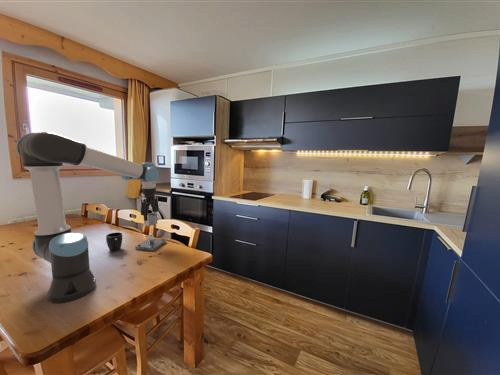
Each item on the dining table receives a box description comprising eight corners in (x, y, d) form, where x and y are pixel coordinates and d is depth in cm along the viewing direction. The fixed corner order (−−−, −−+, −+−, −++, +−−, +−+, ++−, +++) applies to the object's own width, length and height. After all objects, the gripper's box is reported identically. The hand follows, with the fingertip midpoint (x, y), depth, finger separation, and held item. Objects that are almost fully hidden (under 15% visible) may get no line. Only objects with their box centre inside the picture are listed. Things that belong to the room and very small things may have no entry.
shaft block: (153, 251, 125) (153, 238, 124) (135, 249, 127) (134, 236, 126) (166, 242, 139) (165, 230, 138) (149, 240, 141) (149, 229, 140)
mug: (108, 256, 117) (106, 240, 116) (106, 248, 127) (105, 233, 126) (124, 252, 122) (123, 237, 121) (122, 245, 132) (121, 231, 131)
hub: (152, 226, 127) (152, 216, 126) (141, 225, 128) (141, 215, 127) (159, 222, 134) (159, 213, 133) (149, 221, 135) (148, 212, 134)
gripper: (144, 190, 118) (145, 229, 121) (164, 186, 137) (165, 219, 140) (132, 189, 119) (134, 228, 122) (153, 185, 138) (154, 218, 142)
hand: (150, 223), depth 131 cm, fingers closed on hub, 7 cm apart
